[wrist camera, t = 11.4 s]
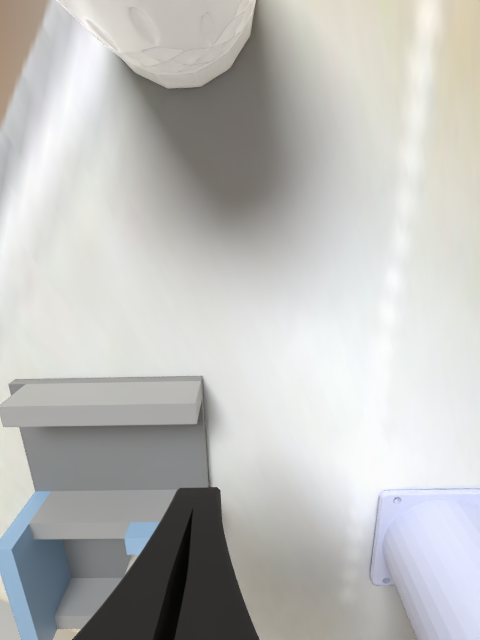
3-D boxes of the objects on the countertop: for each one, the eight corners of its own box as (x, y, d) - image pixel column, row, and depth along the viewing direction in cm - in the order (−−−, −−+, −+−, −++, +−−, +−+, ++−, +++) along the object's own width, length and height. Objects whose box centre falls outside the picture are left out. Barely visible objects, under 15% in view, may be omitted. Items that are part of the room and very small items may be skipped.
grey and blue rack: (201, 376, 20) (190, 421, 16) (215, 580, 25) (209, 658, 21) (15, 379, 21) (-47, 425, 16) (64, 582, 26) (27, 659, 21)
